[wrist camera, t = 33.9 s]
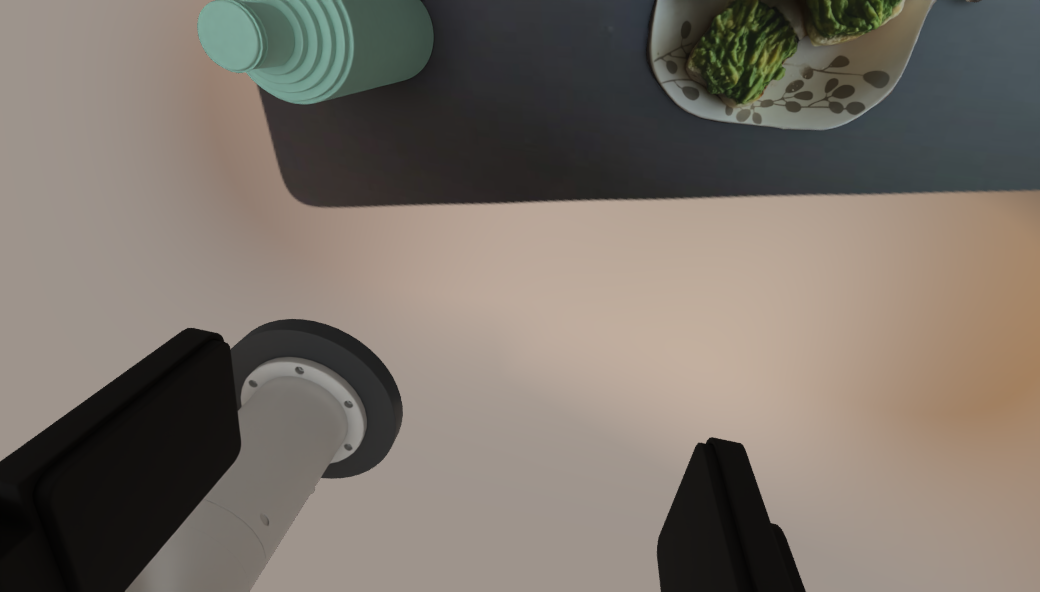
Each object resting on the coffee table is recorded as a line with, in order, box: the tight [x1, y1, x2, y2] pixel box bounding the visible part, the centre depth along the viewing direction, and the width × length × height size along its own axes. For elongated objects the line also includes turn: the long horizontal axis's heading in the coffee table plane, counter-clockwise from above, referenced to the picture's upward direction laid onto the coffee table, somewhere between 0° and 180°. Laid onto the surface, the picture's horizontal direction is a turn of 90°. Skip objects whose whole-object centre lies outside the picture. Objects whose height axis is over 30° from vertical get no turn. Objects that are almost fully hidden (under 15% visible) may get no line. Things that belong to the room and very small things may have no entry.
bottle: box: [197, 0, 434, 104], centre depth 30 cm, size 6×6×19 cm
